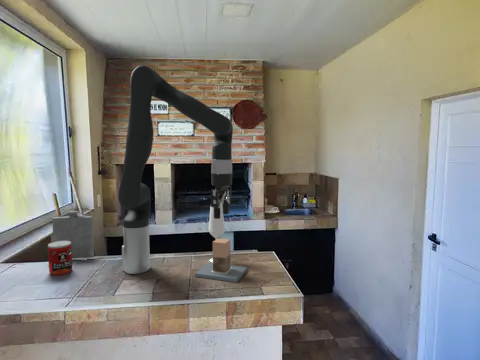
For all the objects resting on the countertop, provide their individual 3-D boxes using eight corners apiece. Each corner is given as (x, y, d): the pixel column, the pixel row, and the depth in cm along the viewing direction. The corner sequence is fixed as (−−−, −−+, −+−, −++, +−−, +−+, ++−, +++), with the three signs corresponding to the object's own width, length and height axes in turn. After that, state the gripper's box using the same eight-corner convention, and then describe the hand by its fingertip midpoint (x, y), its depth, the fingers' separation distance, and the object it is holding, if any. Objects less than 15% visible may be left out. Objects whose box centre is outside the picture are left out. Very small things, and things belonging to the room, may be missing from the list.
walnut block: (212, 271, 116) (212, 256, 116) (218, 266, 121) (218, 252, 120) (225, 272, 114) (225, 258, 114) (230, 268, 119) (230, 253, 119)
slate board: (195, 276, 115) (195, 272, 115) (208, 265, 126) (208, 261, 126) (236, 282, 110) (236, 278, 109) (247, 270, 121) (247, 266, 121)
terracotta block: (212, 256, 116) (212, 241, 115) (217, 252, 120) (217, 238, 120) (225, 258, 114) (225, 243, 113) (230, 253, 119) (230, 239, 118)
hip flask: (52, 259, 133) (50, 212, 131) (57, 256, 137) (54, 210, 135) (92, 257, 135) (90, 211, 134) (95, 254, 139) (93, 209, 138)
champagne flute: (213, 257, 136) (213, 201, 134) (227, 259, 133) (227, 202, 131) (205, 262, 130) (205, 204, 127) (220, 264, 127) (220, 205, 125)
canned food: (51, 277, 114) (50, 247, 113) (47, 271, 120) (45, 243, 119) (75, 272, 119) (73, 243, 118) (69, 266, 125) (68, 239, 124)
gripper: (219, 170, 122) (219, 212, 124) (203, 173, 109) (203, 219, 110) (238, 171, 120) (237, 213, 121) (224, 173, 106) (223, 221, 108)
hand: (221, 216), depth 116 cm, fingers open, 8 cm apart
